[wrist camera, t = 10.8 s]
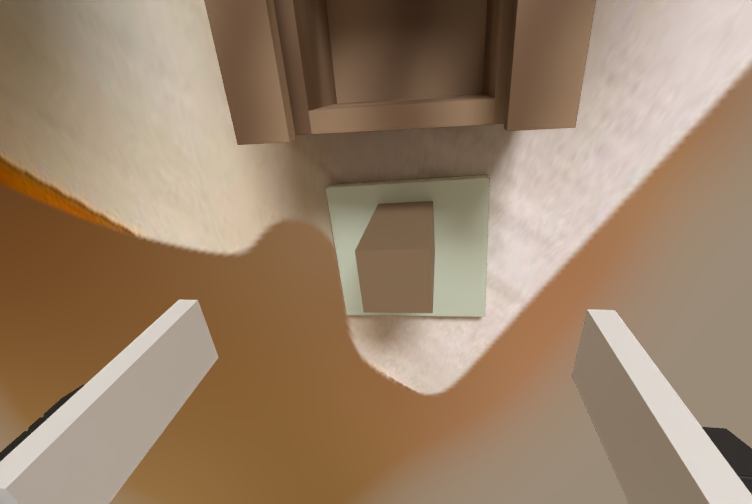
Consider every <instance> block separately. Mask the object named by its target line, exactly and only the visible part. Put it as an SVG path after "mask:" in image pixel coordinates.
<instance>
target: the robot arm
mask: <svg viewBox="0 0 752 504" xmlns="http://www.w3.org/2000/svg"><path fill="white" fill-rule="evenodd" d="M217 358H218V355H217V352H216V349H215V346H214V344H213V341H212V338H211V335H210V332H209V330H208V327H207V324H206V321H205V319H204V316H203V313H202V310H201V307H200V305H199V302H198V300H178V301H177V302H176V303H175V304H174V305H173V306H172V307H171V308H169V309H168V310H167V311H166V312H165V313H164V314H163V315H162V316H160V317H159V318H158V319H157V320H156V321H155V322H154V323H153V324H152V325H151V326H149V327H148V328H147V329H146V330H145V331H144V332H143V333H142V334H141V335H140V336H138V338H136V339H135V340H134V341H133V342H132V343H131V344H130V345H128V346H127V347H126V348H125V349H124V350H123V351H122V352H121V353H120V354H119V355H117V356H116V357H115V358H114V359H113V360H112V361H111V362H110V363H109V364H108V365H106V366H105V367H104V368H103V369H102V370H101V371H100V372H99V373H98V374H96V375H95V376H94V377H93V378H92V379H91V380H90V381H89V382H88V383H87V384H85V385H82V386H81V387H79V388H77V389H76V390H74V391H73V392H71V393H69V394H68V395H66V396H65V397H63V398H62V399H60V400H59V401H58V402H57V403H56V404H55V405H54V406H53V407H51V408H50V409H49V410H48V411H47V412H46V413H45V414H44V417H42V418H39V419H38V420H37V421H36V422H34V423H33V424H32V425H31V426H30V427H29V429H28V431H25V432H23V433H22V434H21V435H20V436H19V437H18V438H16V439H15V440H14V441H13V442H12V443H11V444H10V445H9V446H7V447H6V448H5V449H4V450H3V451H2V452H1V453H0V504H109V503H110V502H111V500H112V499H113V498H114V496H115V495H116V494H117V492H118V491H119V490H120V488H121V487H122V486H123V484H124V483H125V482H126V480H127V479H128V478H129V476H130V475H131V474H132V472H133V471H134V470H135V468H136V467H137V466H138V464H139V463H140V462H141V460H142V459H143V457H144V456H145V455H146V453H147V452H148V451H149V450H150V448H151V447H152V446H153V444H154V443H155V442H156V440H157V439H158V437H159V436H160V435H161V434H162V432H163V431H164V429H165V428H166V427H167V425H168V424H169V423H170V421H171V420H172V419H173V417H174V416H175V415H176V413H177V412H178V411H179V409H180V408H181V407H182V405H183V404H184V403H185V401H186V400H187V399H188V397H189V396H190V395H191V393H192V392H193V391H194V389H195V388H196V387H197V385H198V384H199V383H200V381H201V380H202V379H203V377H204V376H205V375H206V373H207V372H208V371H209V369H210V368H211V367H212V365H213V364H214V363H215V361H216V360H217ZM572 377H573V380H574V382H575V384H576V387H577V389H578V391H579V393H580V396H581V398H582V400H583V402H584V404H585V407H586V409H587V411H588V414H589V416H590V418H591V420H592V423H593V425H594V427H595V430H596V432H597V434H598V436H599V438H600V441H601V443H602V445H603V448H604V450H605V452H606V454H607V456H608V459H609V461H610V463H611V465H612V468H613V470H614V472H615V474H616V477H617V479H618V481H619V483H620V486H621V488H622V490H623V492H624V495H625V497H626V499H627V501H628V504H752V449H751V448H750V447H749V446H748V445H746V444H745V443H744V442H742V441H741V440H740V439H738V438H737V437H736V436H735V435H734V434H732V433H731V432H730V431H728V430H727V429H723V428H709V427H701V426H700V425H699V423H698V422H697V420H696V419H695V418H694V416H693V415H692V414H691V412H690V411H689V410H688V408H687V407H686V406H685V404H684V403H683V402H682V400H681V399H680V397H679V396H678V395H677V393H676V392H675V391H674V389H673V388H672V387H671V385H670V384H669V383H668V381H667V380H666V379H665V377H664V376H663V375H662V373H661V372H660V371H659V369H658V368H657V366H656V365H655V364H654V362H652V360H651V358H650V357H649V356H648V354H647V353H646V352H645V350H644V349H643V348H642V346H641V345H640V344H639V342H638V341H637V340H636V338H635V337H634V335H633V334H632V333H631V331H630V330H629V329H628V327H627V326H626V325H625V323H624V322H623V321H622V319H621V318H620V317H619V315H618V314H617V313H616V311H615V310H587V313H586V317H585V321H584V326H583V330H582V334H581V339H580V343H579V347H578V351H577V356H576V360H575V364H574V369H573V373H572Z"/></svg>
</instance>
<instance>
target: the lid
mask: <svg viewBox="0 0 752 504" xmlns="http://www.w3.org/2000/svg"><path fill="white" fill-rule="evenodd" d="M489 180H490V178H489V176H488V175H477V176H461V177H445V178H429V179H413V180H397V181H381V182H365V183H349V184H334V185H328V186H327V187H326V188H325V189H326V195H327V201H328V207H329V213H330V219H331V225H332V231H333V237H334V242H335V248H336V254H337V260H338V266H339V272H340V278H341V284H342V290H343V296H344V302H345V308H346V313H347V315H379V316H472V317H485V307H486V275H487V244H488V212H489Z"/></svg>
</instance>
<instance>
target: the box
mask: <svg viewBox="0 0 752 504" xmlns="http://www.w3.org/2000/svg"><path fill="white" fill-rule="evenodd" d="M204 1H205V5H206V9H207V14H208V18H209V22H210V27H211V31H212V35H213V40H214V44H215V48H216V53H217V57H218V61H219V66H220V70H221V74H222V79H223V83H224V87H225V92H226V96H227V100H228V105H229V109H230V113H231V118H232V122H233V126H234V131H235V135H236V139H237V144H238V145H244V144H263V143H283V142H291V141H294V140H296V137H295V135H306V134H324V133H342V132H361V131H379V130H397V129H415V128H434V127H452V126H470V125H489V124H504V129H505V130H506V131H517V130H537V129H556V128H575V127H576V121H577V115H578V108H579V102H580V96H581V90H582V83H583V77H584V71H585V65H586V59H587V52H588V46H589V40H590V34H591V28H592V21H593V15H594V9H595V3H596V0H204Z"/></svg>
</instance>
